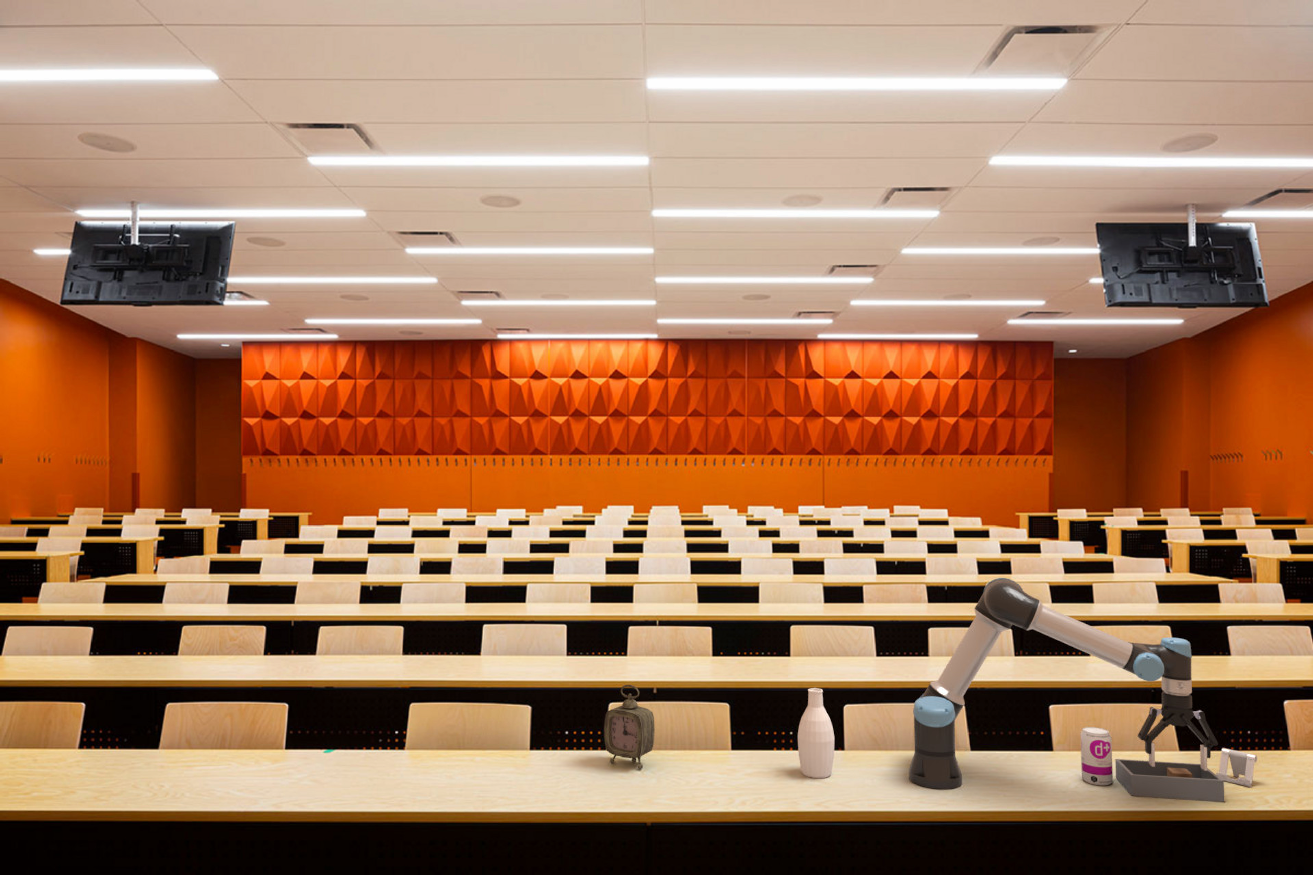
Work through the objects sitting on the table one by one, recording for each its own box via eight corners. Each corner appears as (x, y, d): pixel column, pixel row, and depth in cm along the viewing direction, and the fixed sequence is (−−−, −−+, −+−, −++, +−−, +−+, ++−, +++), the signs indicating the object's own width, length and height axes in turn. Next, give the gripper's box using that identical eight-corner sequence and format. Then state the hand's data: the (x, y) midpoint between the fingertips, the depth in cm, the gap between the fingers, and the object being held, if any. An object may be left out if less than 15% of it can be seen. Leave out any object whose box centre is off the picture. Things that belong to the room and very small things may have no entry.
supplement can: (1116, 787, 252) (1115, 734, 253) (1086, 785, 254) (1084, 733, 254) (1107, 777, 260) (1106, 727, 261) (1078, 775, 261) (1077, 725, 262)
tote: (1131, 795, 245) (1131, 774, 245) (1115, 778, 259) (1115, 758, 259) (1224, 801, 240) (1223, 780, 240) (1203, 784, 254) (1202, 764, 254)
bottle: (820, 765, 272) (819, 684, 273) (842, 776, 262) (841, 691, 263) (790, 770, 267) (790, 687, 268) (812, 782, 257) (811, 695, 258)
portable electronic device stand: (1216, 780, 258) (1215, 751, 258) (1226, 774, 263) (1225, 746, 263) (1249, 788, 251) (1248, 758, 251) (1259, 782, 256) (1258, 753, 256)
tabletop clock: (603, 764, 274) (603, 684, 275) (619, 756, 281) (619, 679, 283) (642, 772, 266) (642, 690, 267) (657, 764, 274) (657, 684, 275)
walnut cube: (1173, 790, 246) (1172, 772, 247) (1167, 784, 251) (1166, 767, 252) (1193, 792, 245) (1192, 774, 246) (1186, 786, 250) (1185, 768, 250)
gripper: (1133, 692, 249) (1134, 767, 248) (1230, 698, 243) (1231, 775, 242) (1125, 686, 256) (1126, 759, 255) (1219, 692, 251) (1220, 766, 250)
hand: (1177, 767), depth 249 cm, fingers open, 13 cm apart
